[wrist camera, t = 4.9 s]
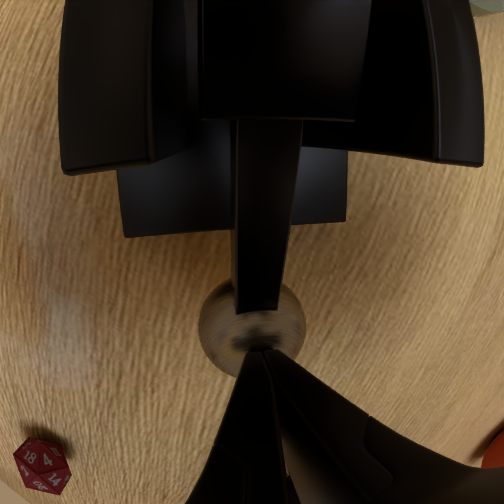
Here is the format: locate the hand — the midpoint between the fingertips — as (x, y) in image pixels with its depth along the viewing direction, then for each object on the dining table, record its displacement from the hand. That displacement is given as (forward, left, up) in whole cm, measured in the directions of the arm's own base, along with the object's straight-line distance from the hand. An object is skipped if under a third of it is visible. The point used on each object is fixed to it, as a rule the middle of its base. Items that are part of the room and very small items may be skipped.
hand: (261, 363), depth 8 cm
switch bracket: (+4, +6, -5) cm, 9 cm away
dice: (-17, -1, -6) cm, 18 cm away
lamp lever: (+3, +3, -1) cm, 5 cm away
